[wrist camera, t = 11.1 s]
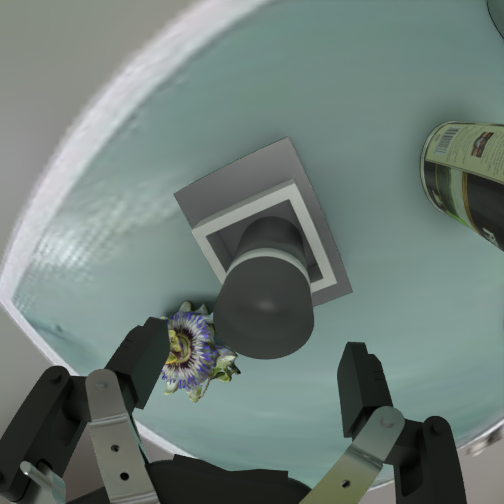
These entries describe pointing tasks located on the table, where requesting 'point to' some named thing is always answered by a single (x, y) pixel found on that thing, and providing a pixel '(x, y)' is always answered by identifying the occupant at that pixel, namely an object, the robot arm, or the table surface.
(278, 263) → the lens
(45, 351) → the table surface
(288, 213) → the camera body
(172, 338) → the passion flower
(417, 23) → the table surface
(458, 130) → the coffee can
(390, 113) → the table surface
